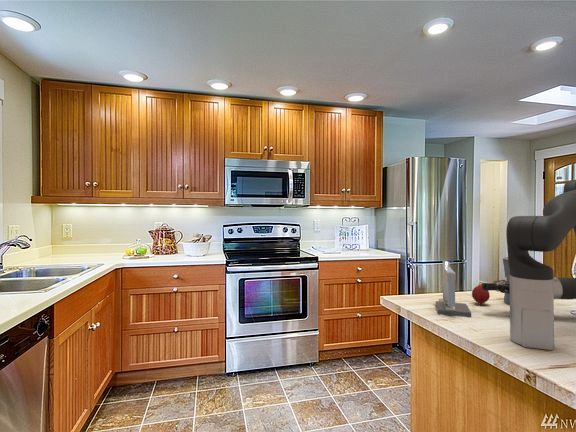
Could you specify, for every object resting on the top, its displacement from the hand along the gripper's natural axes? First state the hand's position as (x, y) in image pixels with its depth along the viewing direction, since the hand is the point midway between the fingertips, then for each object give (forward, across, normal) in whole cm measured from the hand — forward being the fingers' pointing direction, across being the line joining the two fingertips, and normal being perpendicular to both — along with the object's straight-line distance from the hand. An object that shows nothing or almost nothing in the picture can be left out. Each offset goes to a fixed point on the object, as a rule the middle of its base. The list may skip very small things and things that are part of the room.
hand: (482, 286), depth 110 cm
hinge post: (+8, -13, +10) cm, 18 cm away
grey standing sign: (+10, -3, +6) cm, 12 cm away
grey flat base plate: (+9, -3, +9) cm, 13 cm away
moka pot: (-18, -17, +10) cm, 27 cm away
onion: (-4, -14, +10) cm, 17 cm away
